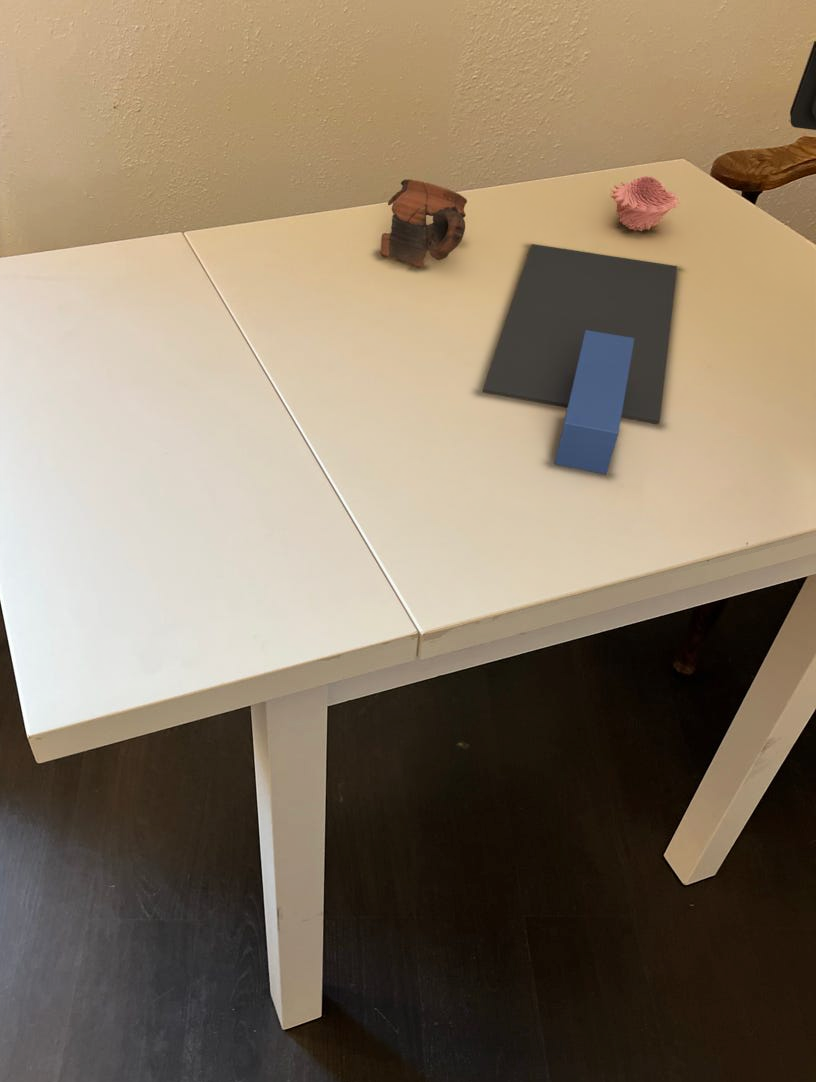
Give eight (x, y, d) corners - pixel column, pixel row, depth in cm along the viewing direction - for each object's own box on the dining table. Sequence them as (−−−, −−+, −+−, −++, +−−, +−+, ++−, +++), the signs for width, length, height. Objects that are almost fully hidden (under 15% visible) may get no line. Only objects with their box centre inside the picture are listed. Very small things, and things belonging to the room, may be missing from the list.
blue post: (606, 474, 80) (622, 379, 89) (618, 433, 77) (634, 337, 85) (554, 464, 81) (575, 370, 89) (564, 422, 77) (585, 329, 86)
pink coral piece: (596, 211, 114) (607, 162, 109) (662, 212, 114) (676, 164, 109) (608, 242, 108) (620, 192, 104) (678, 243, 108) (693, 194, 104)
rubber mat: (676, 269, 104) (677, 265, 104) (658, 424, 85) (659, 420, 85) (531, 247, 107) (531, 243, 107) (482, 392, 88) (483, 388, 88)
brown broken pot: (358, 249, 107) (379, 171, 104) (421, 270, 112) (443, 196, 110) (420, 266, 98) (446, 181, 95) (485, 288, 104) (511, 209, 101)
